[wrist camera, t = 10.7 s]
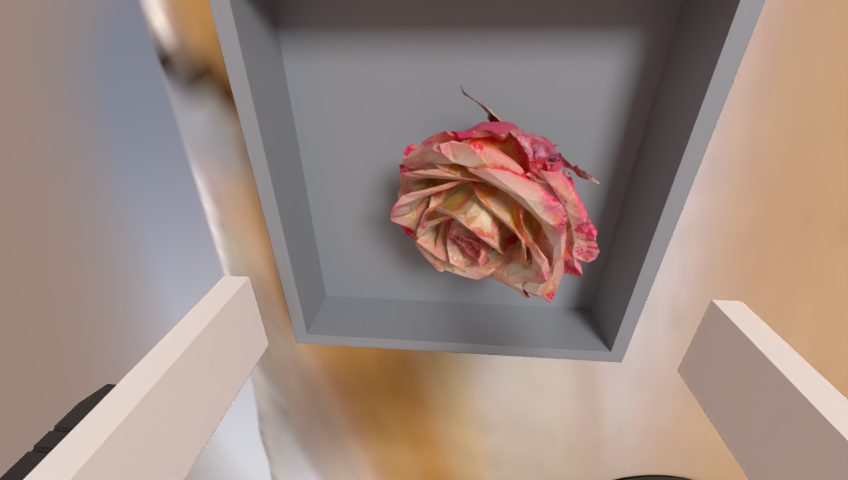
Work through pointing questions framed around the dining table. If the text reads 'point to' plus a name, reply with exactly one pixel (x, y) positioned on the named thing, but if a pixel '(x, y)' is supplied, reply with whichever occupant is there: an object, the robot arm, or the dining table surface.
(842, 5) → the dining table surface
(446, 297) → the bin
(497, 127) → the flower
